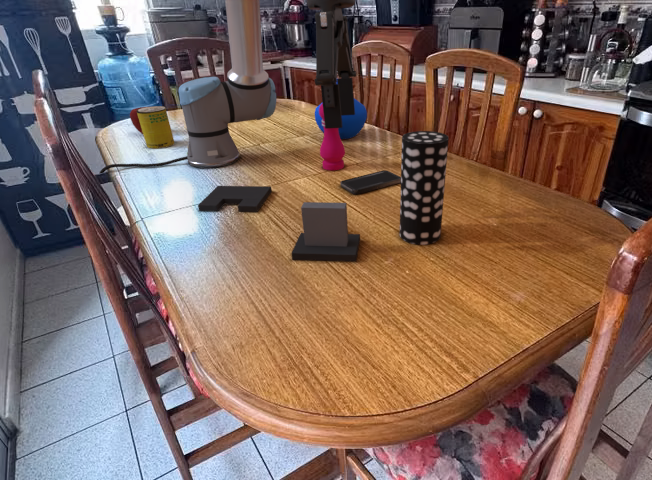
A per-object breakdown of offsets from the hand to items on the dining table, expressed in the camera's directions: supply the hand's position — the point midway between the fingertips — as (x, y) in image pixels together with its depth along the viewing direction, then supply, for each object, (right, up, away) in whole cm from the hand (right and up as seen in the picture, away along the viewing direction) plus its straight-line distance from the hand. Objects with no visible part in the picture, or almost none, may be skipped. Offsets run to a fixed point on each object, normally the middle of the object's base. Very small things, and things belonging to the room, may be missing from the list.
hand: (341, 121), depth 73 cm
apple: (-78, +21, +85) cm, 117 cm away
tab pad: (-3, -22, +9) cm, 24 cm away
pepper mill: (-5, +1, +48) cm, 48 cm away
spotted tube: (+15, -20, +12) cm, 28 cm away
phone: (+6, -6, +36) cm, 37 cm away
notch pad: (-27, -11, +28) cm, 41 cm away
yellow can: (-67, +14, +71) cm, 99 cm away
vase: (-4, +18, +76) cm, 79 cm away
